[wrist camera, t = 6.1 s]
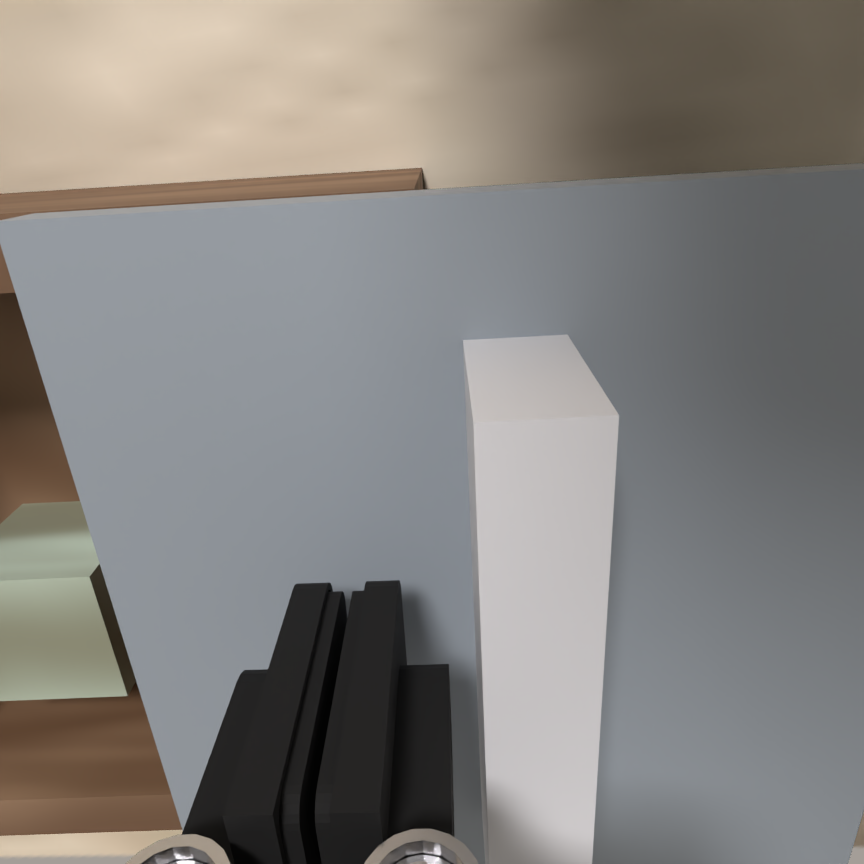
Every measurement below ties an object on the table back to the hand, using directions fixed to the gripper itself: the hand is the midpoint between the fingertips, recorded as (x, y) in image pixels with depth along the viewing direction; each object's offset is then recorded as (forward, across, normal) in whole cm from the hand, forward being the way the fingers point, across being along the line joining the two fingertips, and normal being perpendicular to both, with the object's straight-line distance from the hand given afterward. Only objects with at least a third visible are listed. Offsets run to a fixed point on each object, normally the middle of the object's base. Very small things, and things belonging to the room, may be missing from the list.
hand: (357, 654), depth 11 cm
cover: (+2, -3, 0) cm, 3 cm away
